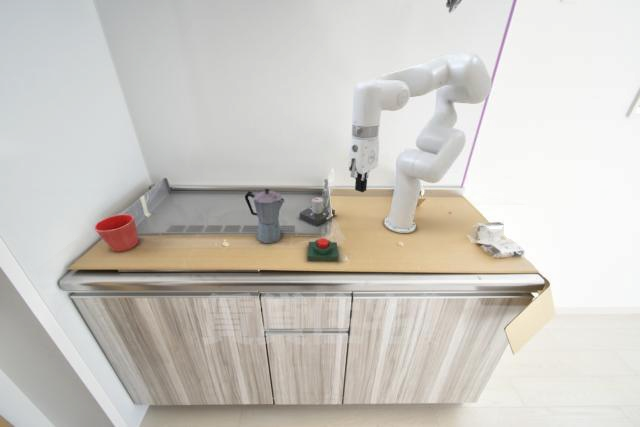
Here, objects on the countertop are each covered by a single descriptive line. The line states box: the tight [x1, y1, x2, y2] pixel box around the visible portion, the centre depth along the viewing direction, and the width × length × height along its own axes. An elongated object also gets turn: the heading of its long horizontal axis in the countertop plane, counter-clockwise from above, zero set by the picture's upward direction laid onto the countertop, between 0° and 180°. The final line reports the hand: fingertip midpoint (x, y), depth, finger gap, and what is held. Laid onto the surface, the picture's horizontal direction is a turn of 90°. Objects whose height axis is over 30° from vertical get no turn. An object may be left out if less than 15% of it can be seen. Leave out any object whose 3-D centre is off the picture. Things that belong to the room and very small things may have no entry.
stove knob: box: [311, 196, 324, 214], centre depth 102 cm, size 5×5×6 cm
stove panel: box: [299, 205, 336, 227], centre depth 105 cm, size 12×10×3 cm
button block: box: [307, 239, 339, 263], centre depth 82 cm, size 10×8×4 cm
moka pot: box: [244, 188, 286, 244], centre depth 87 cm, size 10×15×20 cm, turn 78°
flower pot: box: [94, 213, 139, 252], centre depth 83 cm, size 11×11×10 cm
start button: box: [317, 237, 329, 248], centre depth 81 cm, size 4×4×2 cm
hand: (360, 190), depth 77 cm, fingers closed
